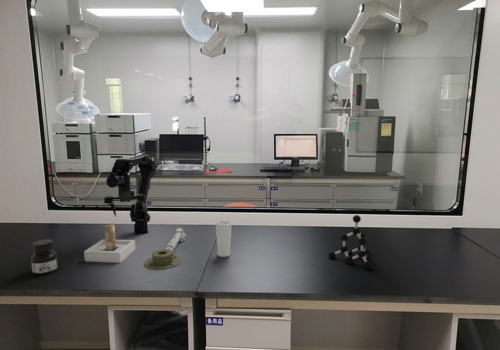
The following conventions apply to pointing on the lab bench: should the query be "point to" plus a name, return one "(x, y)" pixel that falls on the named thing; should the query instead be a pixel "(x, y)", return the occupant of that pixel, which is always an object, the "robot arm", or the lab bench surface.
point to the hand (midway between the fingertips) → (125, 215)
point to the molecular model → (362, 249)
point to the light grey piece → (176, 239)
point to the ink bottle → (44, 258)
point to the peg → (110, 237)
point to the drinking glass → (223, 237)
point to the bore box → (101, 255)
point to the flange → (162, 260)
